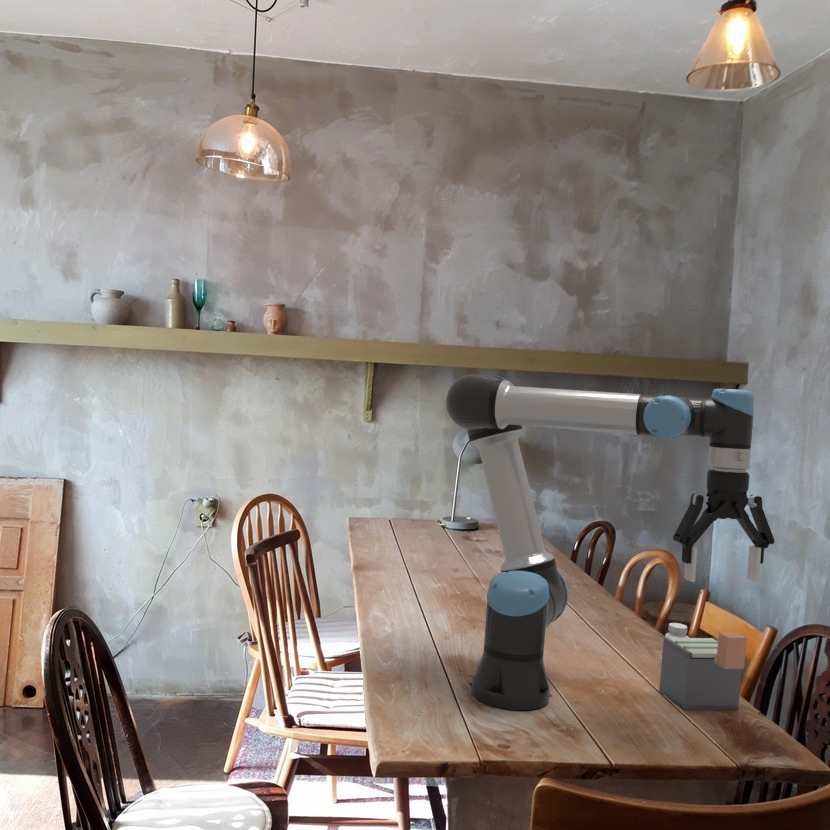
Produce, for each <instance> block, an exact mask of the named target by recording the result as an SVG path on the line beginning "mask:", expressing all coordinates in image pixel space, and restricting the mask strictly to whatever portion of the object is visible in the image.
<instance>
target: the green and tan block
mask: <svg viewBox="0 0 830 830" xmlns="http://www.w3.org/2000/svg"><path fill="white" fill-rule="evenodd" d="M668 639H670V640H671V641H673V642H674V643H676V644H678V645H679V646H681V647H682V648H684V649H686V650H687V651H689V652H690V653H691V657H692V658H715V662H714V663H716V664H718V665H719V666H721V667H722V668H724V669H742V670H744V669H745V663H746V652H747V639H748V638H747V637H746V636H744V635H742V634H740V633H739V632H718V637H717V639H718V641H716V640H714V637H703V638H702V637H689V638H668Z"/></svg>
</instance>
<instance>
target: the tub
mask: <svg viewBox="0 0 830 830" xmlns="http://www.w3.org/2000/svg"><path fill="white" fill-rule="evenodd" d="M713 639H714V640H716V641H718V637H713ZM661 653H662V656H661V664H660V665H661V666H660V675H659V678H660V679H659V690H658V691H659V692H660V693H661V694H662V695H664V696H665V697H666V698H667V699H669V700H670V701H672V702H673V703H674V704H676V705H677V706H679V707H680V708H681V709H682V710H732V709H733V710H734V709H735V710H736V709H737V710H738V709H739V703H740V692H741V681H742V670H743V669H724V668H722V667H721V666H719V665H718V664H716V663H714V662H715V658H692V657H691V653H690V652H689V651H687V650H686V649H684V648H682V647H681V646H679V645H678V644H676V643H674V642H673V641H671V640H670V639H668V638H667V637H665V636H664V637H663V644H662V652H661Z"/></svg>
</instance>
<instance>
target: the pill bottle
mask: <svg viewBox="0 0 830 830" xmlns="http://www.w3.org/2000/svg"><path fill="white" fill-rule="evenodd" d="M667 629H668V632H667V633H665V635H664V637H667V638H690V637H689V636H688V635H687V633H688V626H687V625H686V624H683V623H679V622H671V623H668V628H667Z"/></svg>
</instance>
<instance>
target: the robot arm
mask: <svg viewBox="0 0 830 830" xmlns="http://www.w3.org/2000/svg"><path fill="white" fill-rule="evenodd" d="M754 396H755V395H754V393H752V392H751V391H750V390H747V389H737V388H736V389H731V388H714V389H713V390H712V394H711V396H710V397H707V398H704V397H703V398H701V397H700V398H699V397H698V398H697V397H687V396H686V397H685V396H675V395H669V394H664V395H663V394H662V395H656V394H640V393H623V392H611V391H610V392H609V391H608V392H607V391H594V390H578V389H561V388H549V387H548V388H547V387H546V388H545V387H531V386H519V385H518V386H517V385H516V386H515V385H514V384H513V383H512V382H511V381H509V380H507V379H505V378H504V377H502V376H498V375H496V374H495V375H494V374H488V375H486V374H485V375H484V374H479V373H477V374H476V373H475V374H474V373H471V374H470V373H469V374H466V375H463V376H461V377H459V378H458V379H456V380H455V381H454V382H453V383H452V384H451V386H450V387H449V388H448V391H447V394H446V398H445V404H446V406H445V407H446V411H447V413H448V415H449V418H450V419H451V421H452V422H454V424H456V426H459V427H460V428H462V429H465V430H466V432H467V436H468V440H469V443H470V444H471V446H473V447H475V448H476V449H477V450H478V451H479V452H478V453H479V456H480V460H481V464H482V468H483V472H484V477H485V481H486V484H487V489H488V492H489V496H490V501H491V505H492V508H493V509H492V510H493V514H494V517H495V521H496V525H497V530H498V534H499V538H500V543H501V546H502V551H503V554H504V561H503V563H502V564H501V566H500V572H499V573H497V574H496V575H494V576H492V578H491V579H490V581H489V584H488V589H487V592H486V593H487V595H486V601H487V602H486V615H485V627H484V629H485V630H484V642H483V643H484V644H483V651H482V652H483V653H482V656H481V657H480V660H479V662H478V665H477V667H476V670H475V673H474V675H473V677H472V679H471V694H472V696H474V698H475V699H477V700H478V701H480V702H481V703H483V704H486V705H489V706H492V707H495V708H498V709H499V708H500V709H505V710H513V711H531V710H536V709H541V708H543V707H545V706H547V705H548V703H549V701H550V690H551V689H550V684H549V681H548V676H547V672H546V671H547V670H546V668H545V664H544V663H545V662H544V650H545V642H546V641H545V639H546V629H547V627H549V626H550V625H551V624H552V623H553V622H555V621H556V620H558V619H559V618H560V617H561V616H562V614H564V611H565V609H566V608H567V604H568V601H569V595H570V594H569V587H568V583H567V581H566V579H565V577H564V576H563V574H562V573H561V572H560V571H559V570H558V568H557V563H556V559H555V556H554V555H553V554H551V553H550V552H548V551H547V550H546V549H545V545H544V541H543V537H542V536H543V535H542V531H541V529H540V523H539V520H538V515H537V512H536V507H535V503H534V499H533V495H532V491H531V488H530V484H529V479H528V476H527V471H526V468H525V464H524V459H523V456H522V451H521V448H520V444H519V438H520V436H521V435H522V433H523V431H524V430H523V426H526V427H537V428H538V427H539V428H551V429H561V430H562V429H564V430H573V431H574V430H576V431H587V432H588V431H589V432H600V433H614V434H624V435H636V436H646V437H647V436H648V437H655V438H656V437H657V438H659V439H676V438H678V437H679V436H680V437H681V436H682V437H701V438H709V444H708V454H707V455H708V456H707V466H708V467H709V468H710V469H708V470H707V472H706V473H707V476H706V490H707V492H706V494H705V495H701V494H699V493H692V494H691V496H690V501H689V502H690V503H689V506H688V508H687V509H686V511H685V513H684V515H683V517H682V518H681V521H680V522H679V525H678V526H677V529H676V531H675V533H674V534H673V537H672V540H673V541H674V542H676V543H679V544H680V545H681V546H682V547H681V562H682V563H684V570H683V571H684V573H683V579H684V580H687V581H688V582H691V583H695V582H696V577H697V576H696V575H697V574H696V573H697V558H698V547H697V546H695V544H696V543H697V542H698V541H699V539H700V538H701V537H702V535H704V533H705V532H706V531H707V530H708V528H709V527H711V525H712V524H713V522H716V521H717V520H718V519H720V520H727V519H730V520H737V523H738V524H739V525H740V527H741V528H742V529H743V531H744V533H745V534H746V535H747V537H748V539H749V540H750V542H751V543H752V544H753V545H752V544H751V545H749V546H748V555H747V556H748V559H747V573H746V574H747V576H746V578H747V579H748V580H751V581H752V582H754V583H759V582H760V575H761V573H760V572H761V564H763V563H764V559H765V549H768V547H769V546H770V545H773V544H775V537H774V536H773V533H772V529H771V528H770V524H769V522H768V519H767V517H766V514H765V512H764V509H763V497H762V496H759V495H754V494H750V495H749V496H748V494H747V492H748V491H749V487H750V474H749V472H747V470H749V469H750V466H751V452H752V438H753V427H754V425H753V424H754ZM704 506H707V507H706V508H705V509H704V510H702V509H703V507H704ZM747 506H748V508H749V510H750V513H751V517H752V519H753V521H754V523H753V522H752V520H751V519H750V515H749V514H748V513H747V512H746V509H745V508H746V507H747ZM701 511H703V512H702V513H701ZM700 514H701V516H700ZM699 516H700V517H699ZM698 518H699V519H698ZM754 524H755V525H754ZM747 579H746V580H747Z"/></svg>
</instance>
